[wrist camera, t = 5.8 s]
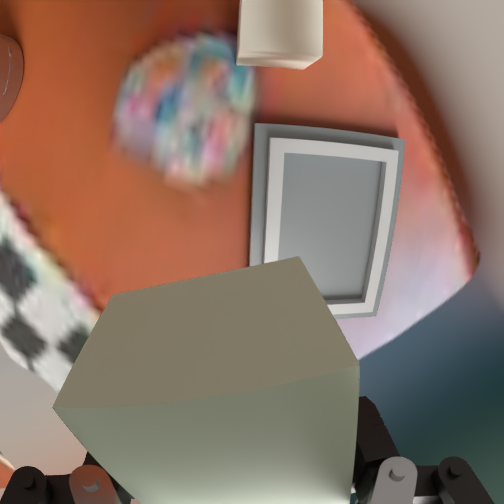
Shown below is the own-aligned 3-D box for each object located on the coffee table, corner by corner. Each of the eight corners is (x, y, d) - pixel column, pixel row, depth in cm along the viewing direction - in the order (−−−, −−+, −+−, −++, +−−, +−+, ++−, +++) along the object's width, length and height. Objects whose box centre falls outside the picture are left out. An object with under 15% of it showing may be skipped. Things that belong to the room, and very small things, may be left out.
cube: (236, 65, 21) (239, 48, 16) (238, 7, 19) (242, -19, 14) (303, 69, 21) (322, 56, 16) (304, 13, 19) (322, -11, 15)
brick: (320, 442, 13) (345, 528, 9) (200, 463, 13) (200, 549, 9) (299, 256, 10) (359, 364, 5) (113, 294, 10) (52, 407, 5)
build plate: (246, 315, 28) (248, 327, 26) (254, 123, 22) (256, 122, 21) (372, 310, 29) (379, 320, 28) (398, 138, 23) (410, 140, 22)
